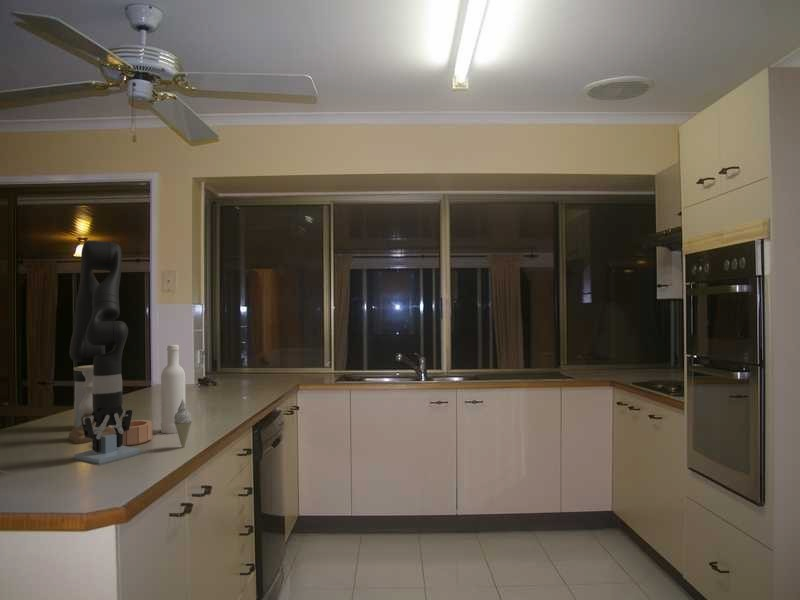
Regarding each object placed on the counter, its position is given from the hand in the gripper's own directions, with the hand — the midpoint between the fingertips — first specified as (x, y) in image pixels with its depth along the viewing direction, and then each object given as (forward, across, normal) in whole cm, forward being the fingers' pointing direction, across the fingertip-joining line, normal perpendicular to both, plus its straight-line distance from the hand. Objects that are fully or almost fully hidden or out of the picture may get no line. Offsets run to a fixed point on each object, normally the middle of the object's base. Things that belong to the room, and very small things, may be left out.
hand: (107, 449), depth 149 cm
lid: (+2, 0, 0) cm, 2 cm away
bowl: (+2, -13, -9) cm, 16 cm away
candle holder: (+2, -11, -27) cm, 29 cm away
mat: (+2, 0, 0) cm, 2 cm away
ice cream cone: (+2, -16, +12) cm, 20 cm away
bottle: (+2, -30, -11) cm, 32 cm away
